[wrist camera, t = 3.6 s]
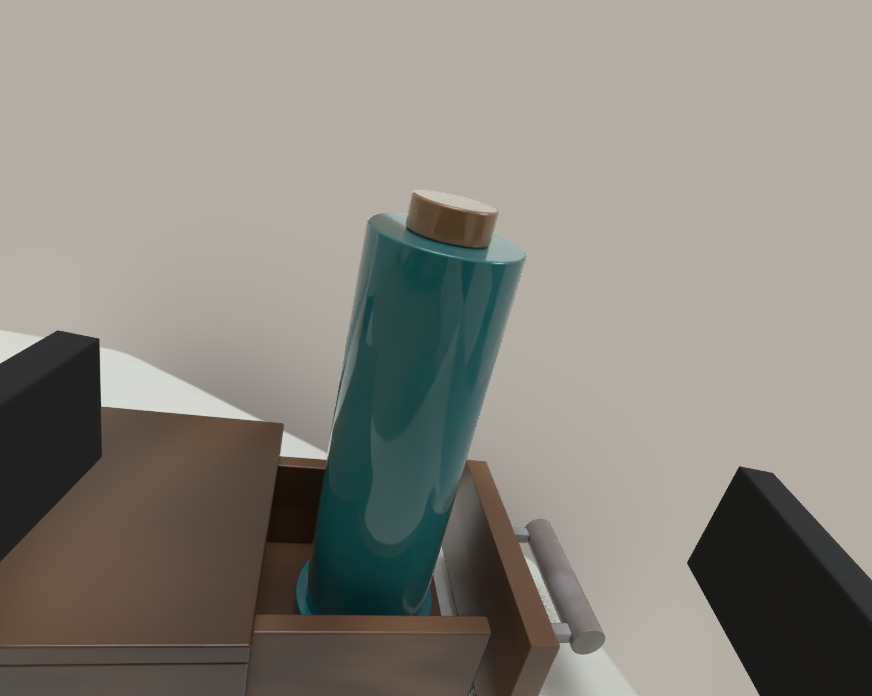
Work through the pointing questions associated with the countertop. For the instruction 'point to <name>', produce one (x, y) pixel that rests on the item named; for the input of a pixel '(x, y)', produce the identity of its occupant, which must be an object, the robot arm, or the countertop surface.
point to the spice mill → (407, 403)
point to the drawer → (419, 635)
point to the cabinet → (145, 564)
